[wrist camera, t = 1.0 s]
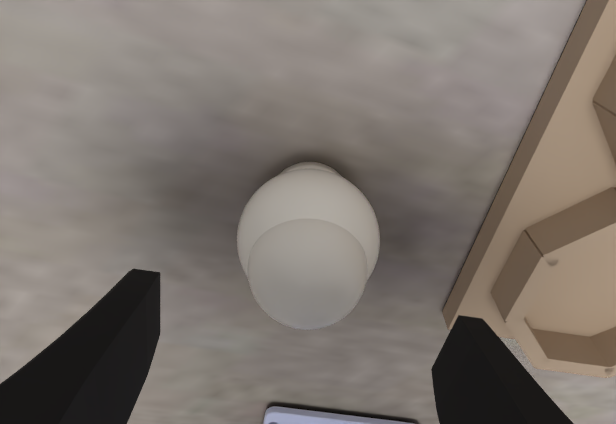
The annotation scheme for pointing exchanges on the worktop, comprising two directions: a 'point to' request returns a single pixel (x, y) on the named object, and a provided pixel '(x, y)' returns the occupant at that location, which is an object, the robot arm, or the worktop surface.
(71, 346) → the robot arm
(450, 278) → the worktop surface
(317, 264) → the cream egg
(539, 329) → the egg tray
